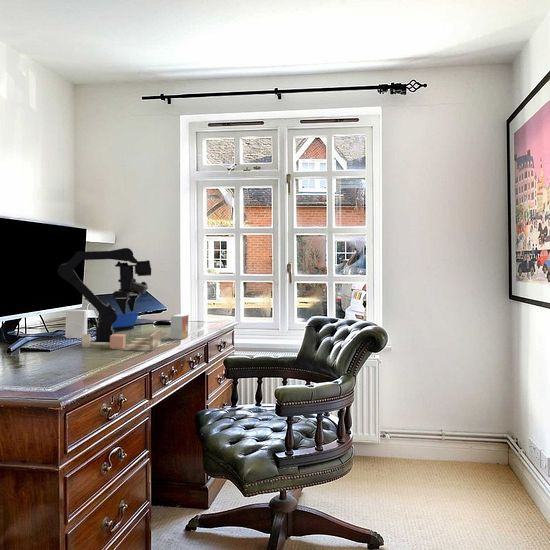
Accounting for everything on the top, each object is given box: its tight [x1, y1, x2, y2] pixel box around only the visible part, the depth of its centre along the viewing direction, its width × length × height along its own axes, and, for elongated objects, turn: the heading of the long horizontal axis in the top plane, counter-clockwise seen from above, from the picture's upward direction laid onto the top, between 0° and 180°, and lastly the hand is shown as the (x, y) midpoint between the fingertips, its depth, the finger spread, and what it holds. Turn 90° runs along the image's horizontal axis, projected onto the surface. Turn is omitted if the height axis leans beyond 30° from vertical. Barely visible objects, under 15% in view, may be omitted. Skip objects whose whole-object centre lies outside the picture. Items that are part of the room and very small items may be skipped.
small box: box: [170, 313, 190, 340], centre depth 233 cm, size 8×6×10 cm
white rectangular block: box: [64, 309, 88, 339], centre depth 226 cm, size 9×9×12 cm
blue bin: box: [112, 311, 140, 332], centre depth 252 cm, size 16×13×9 cm
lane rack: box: [124, 329, 162, 352], centre depth 208 cm, size 11×17×6 cm, turn 2°
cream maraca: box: [81, 333, 127, 350], centre depth 204 cm, size 16×5×5 cm, turn 95°
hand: (128, 312), depth 221 cm, fingers open, 9 cm apart
